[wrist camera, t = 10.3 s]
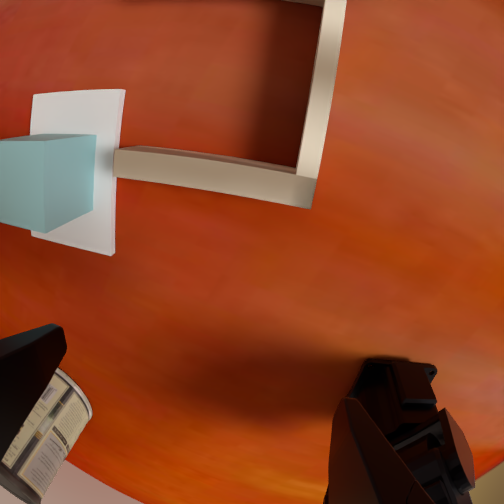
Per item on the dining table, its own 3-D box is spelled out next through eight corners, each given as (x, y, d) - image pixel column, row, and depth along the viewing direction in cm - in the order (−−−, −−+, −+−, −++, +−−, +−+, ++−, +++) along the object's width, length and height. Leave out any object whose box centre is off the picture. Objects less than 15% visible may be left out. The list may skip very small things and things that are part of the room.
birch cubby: (308, 197, 18) (310, 209, 15) (137, 169, 19) (112, 176, 16) (342, -10, 13) (350, -31, 10) (170, -22, 14) (151, -41, 11)
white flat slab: (115, 252, 21) (110, 256, 20) (36, 233, 21) (31, 236, 21) (125, 89, 17) (120, 89, 16) (38, 94, 17) (33, 94, 17)
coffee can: (43, 408, 31) (-8, 480, 18) (12, 347, 28) (-59, 421, 15) (105, 431, 30) (55, 521, 17) (75, 367, 26) (-2, 468, 13)
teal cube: (93, 210, 19) (45, 233, 15) (42, 201, 20) (-6, 220, 15) (96, 134, 17) (44, 140, 13) (43, 133, 18) (-8, 141, 13)
